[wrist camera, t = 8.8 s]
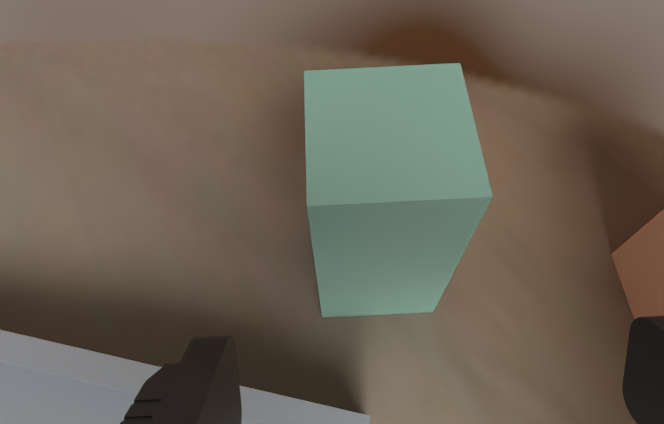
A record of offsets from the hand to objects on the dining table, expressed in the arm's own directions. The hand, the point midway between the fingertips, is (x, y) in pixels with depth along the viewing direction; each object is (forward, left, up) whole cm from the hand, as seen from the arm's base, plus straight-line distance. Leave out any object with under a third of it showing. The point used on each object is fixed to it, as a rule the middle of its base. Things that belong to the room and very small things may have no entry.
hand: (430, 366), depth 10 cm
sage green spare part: (-2, +7, -11) cm, 13 cm away
